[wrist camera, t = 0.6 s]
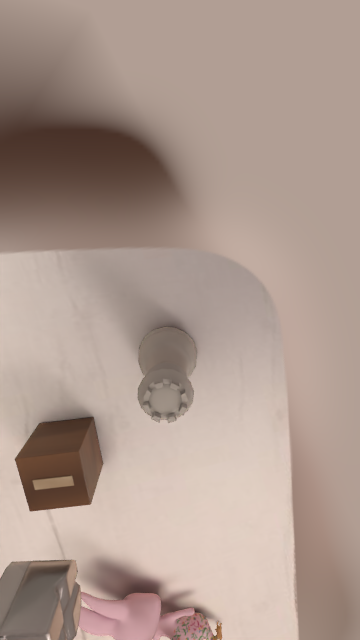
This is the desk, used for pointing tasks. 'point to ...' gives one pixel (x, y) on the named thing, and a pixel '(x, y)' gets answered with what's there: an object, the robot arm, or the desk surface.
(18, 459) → the dark brown wooden block
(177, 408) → the rook chess piece
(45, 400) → the desk surface
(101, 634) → the rabbit figure
